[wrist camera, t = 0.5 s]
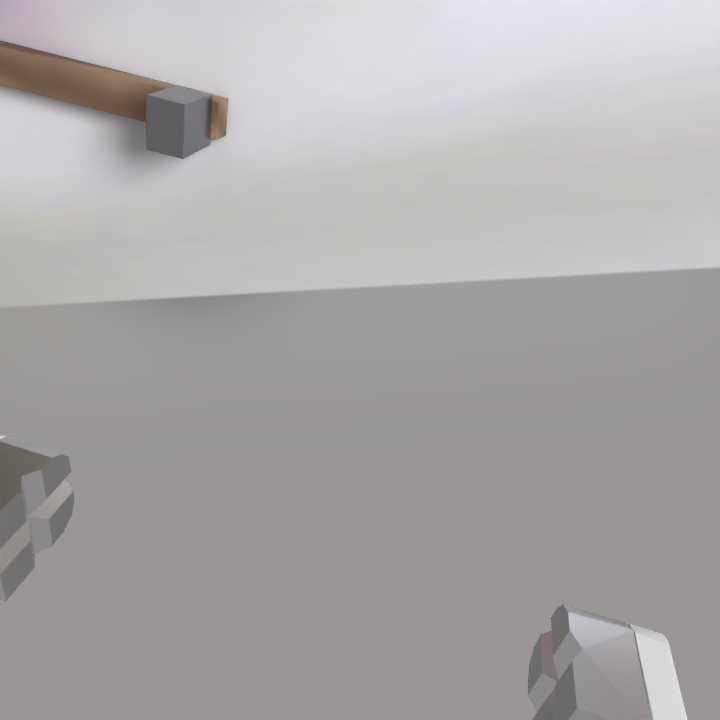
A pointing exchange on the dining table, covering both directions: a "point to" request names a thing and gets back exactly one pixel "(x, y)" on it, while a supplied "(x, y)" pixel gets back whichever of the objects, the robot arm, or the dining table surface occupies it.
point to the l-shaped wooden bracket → (121, 97)
